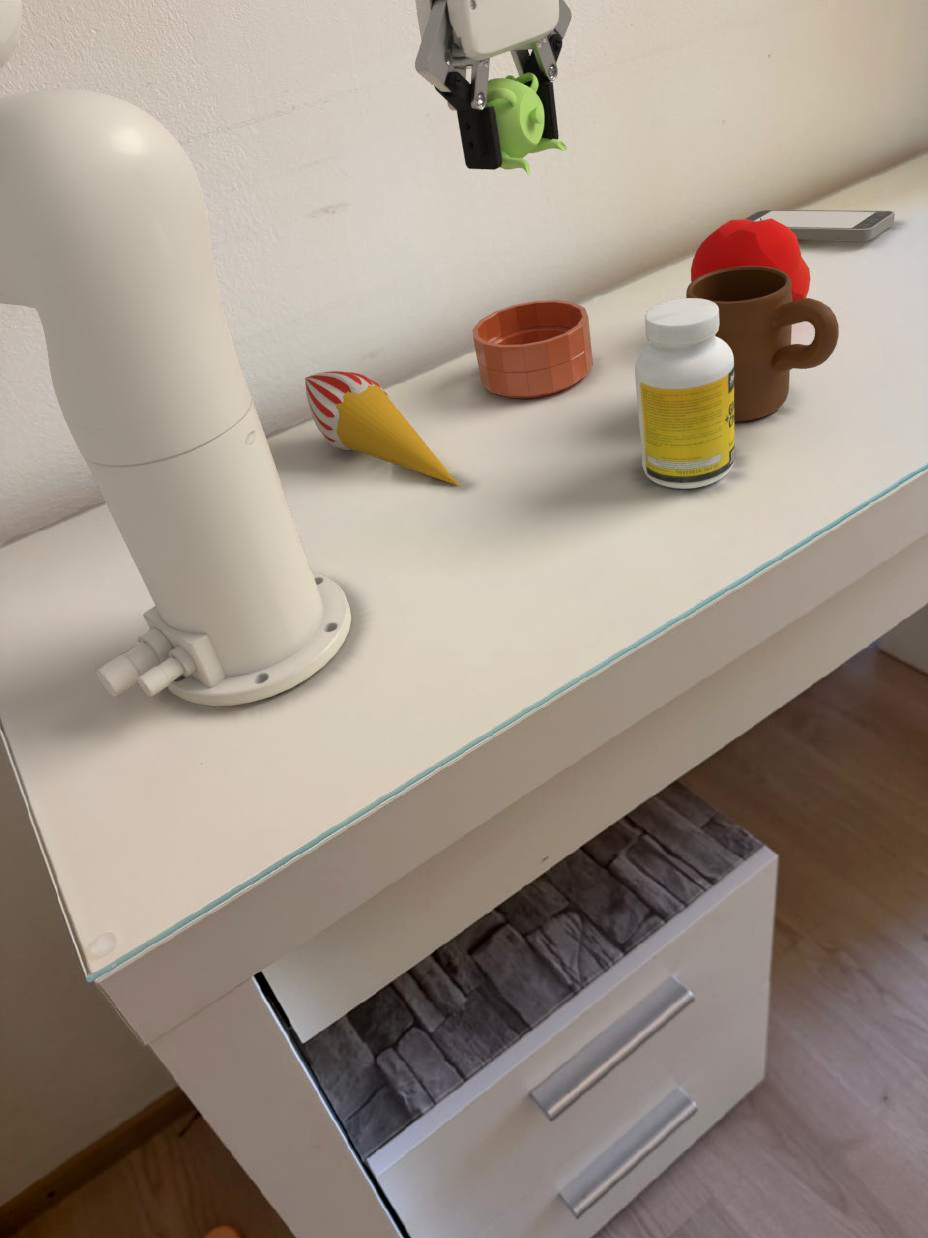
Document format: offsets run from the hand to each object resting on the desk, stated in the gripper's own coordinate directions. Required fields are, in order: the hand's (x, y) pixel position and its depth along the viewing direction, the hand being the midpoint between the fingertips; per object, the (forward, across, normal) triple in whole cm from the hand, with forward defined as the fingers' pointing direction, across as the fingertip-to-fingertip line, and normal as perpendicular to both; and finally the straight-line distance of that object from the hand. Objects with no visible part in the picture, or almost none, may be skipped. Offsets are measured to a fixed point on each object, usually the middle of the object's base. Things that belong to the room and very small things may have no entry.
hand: (512, 151), depth 70 cm
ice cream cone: (+20, +15, -6) cm, 25 cm away
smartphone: (+18, -42, +11) cm, 47 cm away
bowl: (+19, -2, -3) cm, 20 cm away
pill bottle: (+20, +6, +18) cm, 27 cm away
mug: (+20, -4, +18) cm, 27 cm away
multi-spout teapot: (+1, 0, 0) cm, 1 cm away
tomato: (+16, -14, +9) cm, 23 cm away
